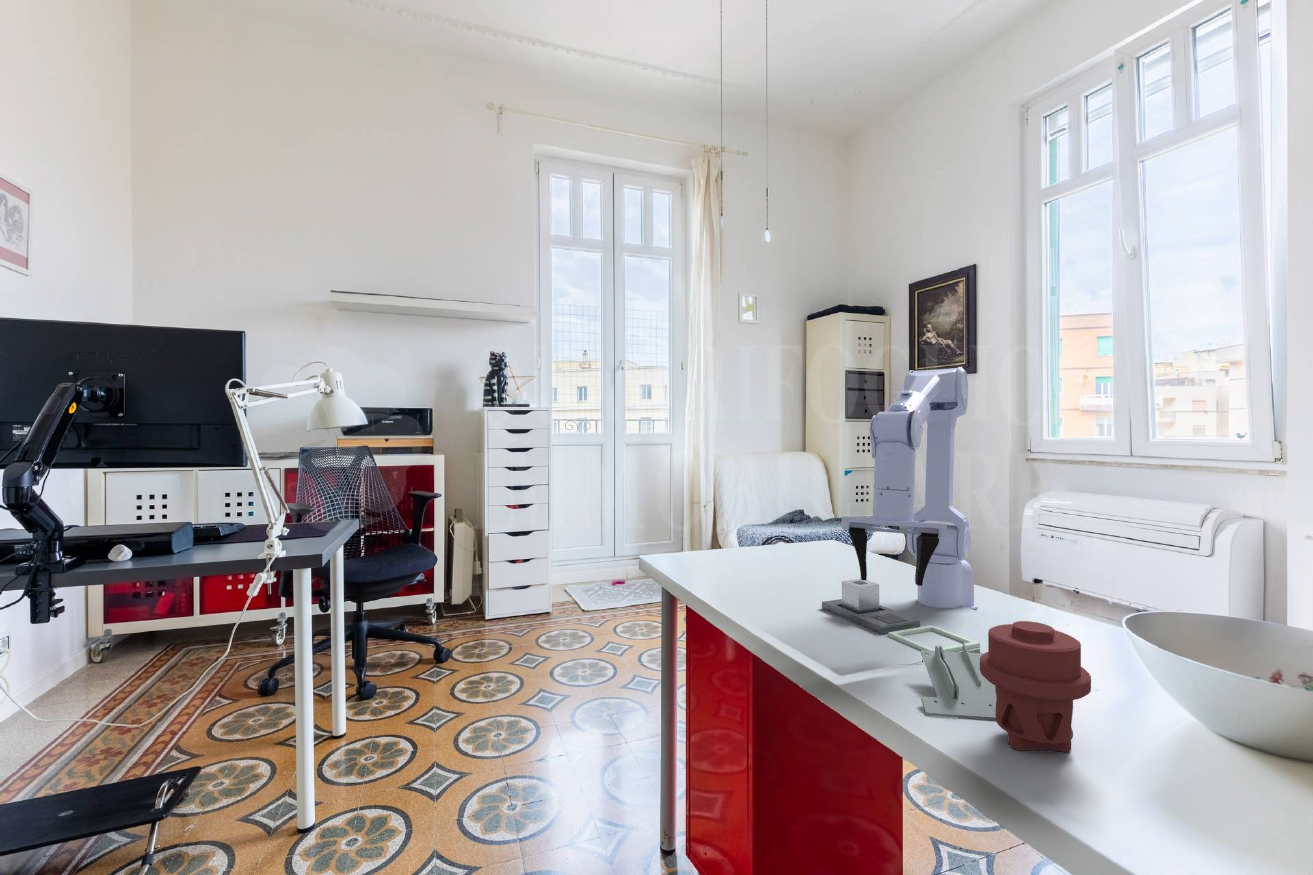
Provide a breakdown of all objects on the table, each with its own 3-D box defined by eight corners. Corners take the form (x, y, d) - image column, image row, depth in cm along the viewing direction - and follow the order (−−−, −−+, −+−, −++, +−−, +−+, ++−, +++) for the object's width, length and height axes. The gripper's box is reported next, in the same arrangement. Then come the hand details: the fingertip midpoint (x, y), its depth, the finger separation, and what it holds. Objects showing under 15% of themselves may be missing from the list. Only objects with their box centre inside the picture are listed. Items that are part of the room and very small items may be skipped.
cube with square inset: (862, 609, 109) (861, 578, 109) (879, 616, 105) (879, 584, 105) (841, 612, 107) (841, 580, 107) (858, 619, 103) (858, 586, 103)
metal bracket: (904, 633, 83) (1025, 639, 80) (902, 670, 84) (1020, 677, 81) (930, 709, 69) (1076, 719, 66) (926, 750, 71) (1069, 762, 68)
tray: (932, 634, 98) (931, 625, 98) (980, 653, 90) (980, 642, 90) (888, 641, 95) (888, 632, 95) (933, 662, 87) (933, 651, 87)
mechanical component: (1113, 754, 62) (1049, 777, 58) (1020, 712, 71) (959, 730, 67) (1113, 633, 62) (1048, 649, 58) (1020, 607, 71) (958, 619, 67)
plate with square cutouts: (857, 608, 113) (857, 596, 113) (920, 633, 99) (920, 619, 99) (821, 613, 110) (821, 601, 110) (881, 640, 96) (880, 626, 96)
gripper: (844, 486, 89) (840, 580, 88) (951, 493, 86) (949, 591, 84) (842, 487, 96) (839, 574, 95) (942, 493, 92) (940, 584, 91)
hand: (890, 582), depth 90 cm, fingers open, 7 cm apart
